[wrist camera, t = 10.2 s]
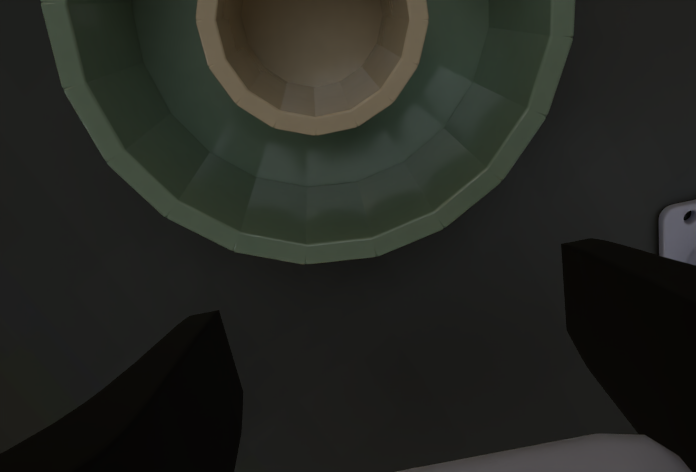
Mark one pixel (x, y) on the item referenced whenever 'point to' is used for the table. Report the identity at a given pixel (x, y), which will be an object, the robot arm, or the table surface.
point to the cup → (313, 57)
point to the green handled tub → (306, 150)
